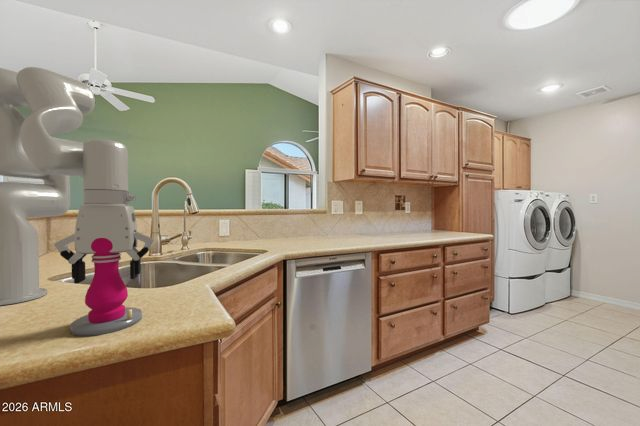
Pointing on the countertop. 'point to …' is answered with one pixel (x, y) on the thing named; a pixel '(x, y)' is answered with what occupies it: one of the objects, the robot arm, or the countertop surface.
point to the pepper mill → (105, 284)
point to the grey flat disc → (105, 324)
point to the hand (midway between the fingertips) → (107, 279)
